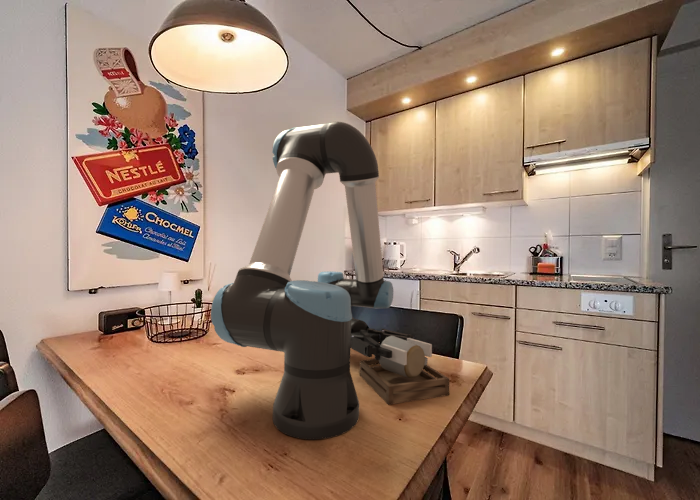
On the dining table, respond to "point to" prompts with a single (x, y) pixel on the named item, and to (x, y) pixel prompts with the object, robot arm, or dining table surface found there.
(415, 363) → the ceramic mug
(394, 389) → the walnut crate
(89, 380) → the dining table surface
